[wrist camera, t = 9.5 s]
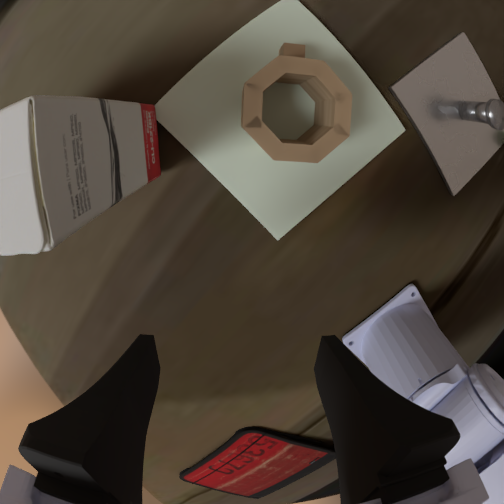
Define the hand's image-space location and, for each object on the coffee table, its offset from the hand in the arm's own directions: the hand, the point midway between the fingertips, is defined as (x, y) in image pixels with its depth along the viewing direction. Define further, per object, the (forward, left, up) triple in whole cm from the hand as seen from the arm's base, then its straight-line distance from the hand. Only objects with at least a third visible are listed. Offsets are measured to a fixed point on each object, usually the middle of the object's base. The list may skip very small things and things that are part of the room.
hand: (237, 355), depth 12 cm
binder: (-26, +22, -11) cm, 36 cm away
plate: (-3, -21, -10) cm, 23 cm away
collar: (+5, -9, -9) cm, 14 cm away
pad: (+5, -9, -10) cm, 14 cm away
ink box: (+12, +1, -10) cm, 15 cm away
